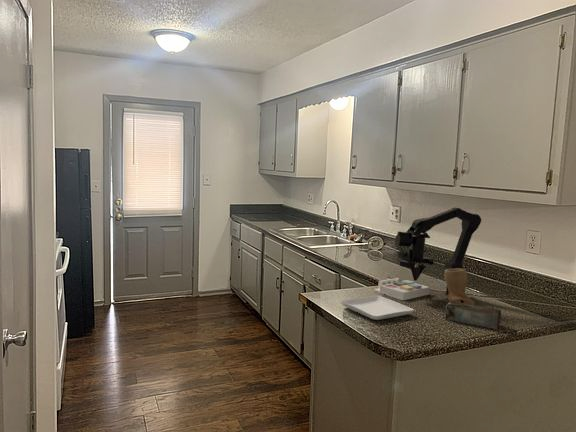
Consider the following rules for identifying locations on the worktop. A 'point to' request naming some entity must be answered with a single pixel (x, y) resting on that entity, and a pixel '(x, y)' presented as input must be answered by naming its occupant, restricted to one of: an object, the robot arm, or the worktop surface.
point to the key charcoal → (399, 283)
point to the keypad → (400, 290)
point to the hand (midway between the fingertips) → (415, 280)
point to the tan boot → (457, 286)
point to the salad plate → (377, 307)
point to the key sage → (408, 282)
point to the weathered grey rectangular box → (473, 315)
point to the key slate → (415, 286)
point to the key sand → (407, 287)
